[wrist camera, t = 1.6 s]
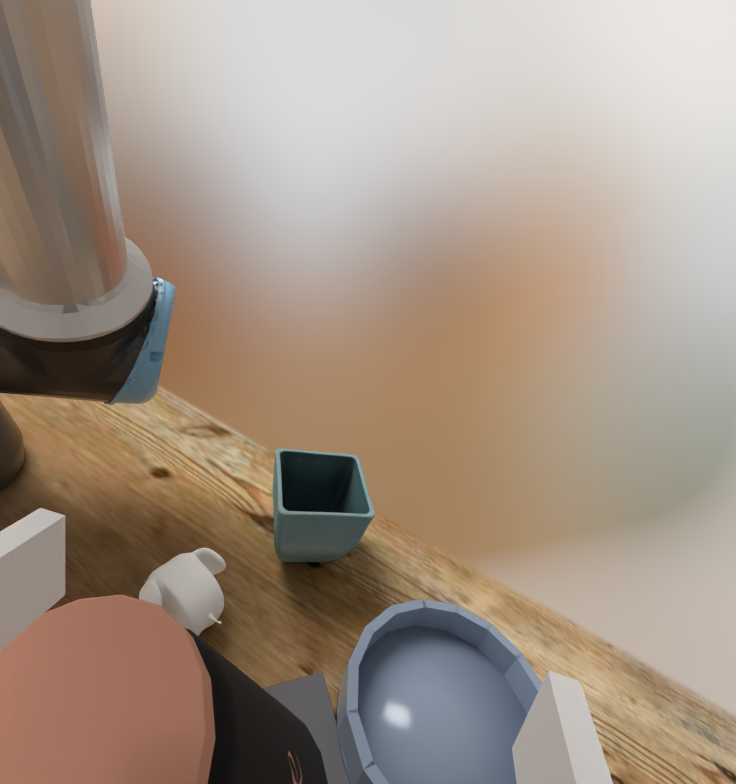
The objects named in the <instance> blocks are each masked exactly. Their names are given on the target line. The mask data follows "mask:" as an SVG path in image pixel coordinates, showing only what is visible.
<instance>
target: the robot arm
mask: <svg viewBox="0 0 736 784" xmlns="http://www.w3.org/2000/svg"><path fill="white" fill-rule="evenodd" d="M175 293H176V292H175V287H174V286H173V284H172V283H170V282H168V281H164V280H162V279H161V278H160V277H159V278H158V277H155V276H154V277H152V273H151V268H150V265H149V263H148V260H147V259H146V257H145V256H144V254H143V253H142V252H141V251H140V249H139V248H138V247H137V246H136V245H135V244H134V243H133V242H131V241H130V240H129V239H127V238H126V237H125V234H124V227H123V220H122V213H121V206H120V200H119V193H118V186H117V179H116V172H115V165H114V159H113V152H112V145H111V138H110V131H109V125H108V117H107V111H106V104H105V97H104V90H103V84H102V77H101V70H100V63H99V56H98V50H97V42H96V36H95V29H94V22H93V16H92V8H91V1H90V0H0V393H10V394H21V395H32V396H43V397H55V398H66V399H77V400H89V401H100V402H104V403H105V404H109V405H113V404H115V403H134V404H141V403H145V402H147V401H149V400H151V399H152V398H153V397H154V396H155V394H156V392H157V388H158V383H159V378H160V372H161V366H162V361H163V356H164V352H165V346H166V341H167V336H168V331H169V326H170V320H171V315H172V309H173V304H174V299H175ZM24 459H25V450H24V443H23V436H22V433H21V431H20V429H19V427H18V426H17V424H16V423H15V421H14V420H13V418H12V417H11V415H10V414H9V413H8V411H7V410H6V408H5V407H4V405H3V404H2V403H1V401H0V490H2V489H3V488H4V487H5V486H7V485H8V484H9V483H10V482H11V481H12V480H13V479H14V478H15V477H16V475H17V474H18V473H19V471H20V469H21V468H22V466H23V463H24ZM64 595H65V515H62V514H59V513H56V512H53V511H49V510H46V509H43V508H39V509H37V510H36V511H34V512H32V513H31V514H29V515H27V516H26V517H24V518H22V519H20V520H19V521H17V522H15V523H14V524H12V525H10V526H9V527H7V528H5V529H3V530H2V531H0V650H1V649H2V648H4V647H5V646H6V645H7V644H8V643H9V642H11V641H12V640H13V639H14V638H15V637H16V636H18V635H19V634H20V633H21V632H22V631H24V630H25V629H26V628H27V627H28V626H29V625H31V624H32V623H33V622H34V621H35V620H36V619H38V618H39V617H40V616H41V615H42V614H43V613H45V612H46V611H47V610H48V609H49V608H50V607H52V606H53V605H54V604H55V603H56V602H57V601H59V600H60V599H61V598H62V597H63V596H64ZM512 753H513V760H514V768H515V775H516V782H517V784H613V782H612V779H611V776H610V772H609V769H608V766H607V763H606V760H605V757H604V754H603V751H602V748H601V745H600V742H599V738H598V735H597V732H596V729H595V726H594V723H593V720H592V717H591V714H590V711H589V707H588V704H587V701H586V698H585V695H584V692H583V689H582V686H581V683H580V681H578V680H575V679H572V678H569V677H566V676H562V675H559V674H556V673H553V672H550V671H548V672H547V674H546V676H545V678H544V680H543V683H542V685H541V687H540V689H539V691H538V693H537V695H536V697H535V700H534V702H533V704H532V706H531V708H530V710H529V712H528V715H527V717H526V719H525V721H524V723H523V725H522V727H521V729H520V732H519V734H518V736H517V738H516V740H515V742H514V744H513V747H512Z"/></svg>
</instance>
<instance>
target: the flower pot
mask: <svg viewBox="0 0 736 784" xmlns="http://www.w3.org/2000/svg"><path fill="white" fill-rule="evenodd" d="M273 507H274V544H275V550H276V553H277V555H278V557H279V558H280V559H281V560H282V561H284V562H330V561H333V560H336V559H339V558H341V557H343V556H345V555H346V554H348V553H349V552H350V551H351V550H352V549H353V548H354V547H355V546H356V545H357V543H358V542H359V540H360V539H361V537H362V535H363V534H364V532H365V530H366V529H367V527H368V525H369V524H370V522H371V520H372V519H373V517H374V515H375V512H374V508H373V505H372V502H371V499H370V495H369V492H368V489H367V485H366V481H365V478H364V475H363V471H362V467H361V464H360V460H359V458H358V457H357V456H355V455H351V454H341V453H325V452H313V451H303V450H292V449H277V450H276V455H275V466H274V477H273Z"/></svg>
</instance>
